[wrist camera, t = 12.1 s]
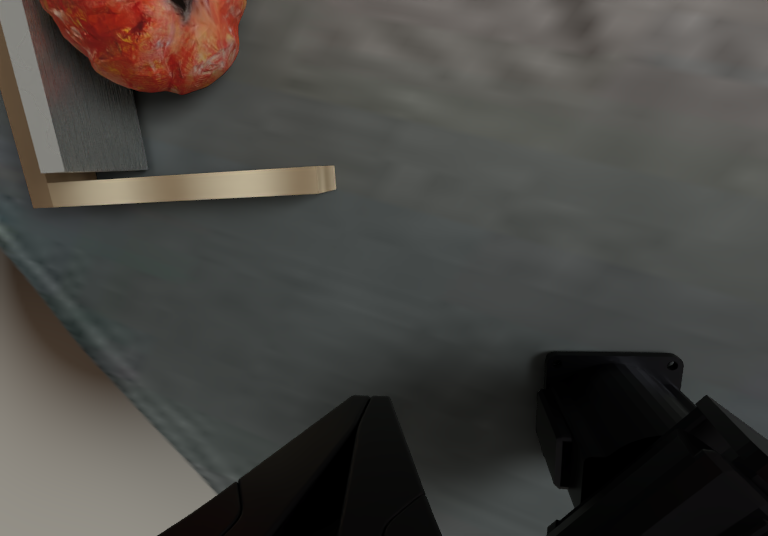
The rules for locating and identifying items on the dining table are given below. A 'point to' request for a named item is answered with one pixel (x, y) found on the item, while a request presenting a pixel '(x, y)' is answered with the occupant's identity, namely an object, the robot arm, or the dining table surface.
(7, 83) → the pusher lane
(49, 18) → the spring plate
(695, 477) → the robot arm
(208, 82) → the pomegranate
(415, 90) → the dining table surface
